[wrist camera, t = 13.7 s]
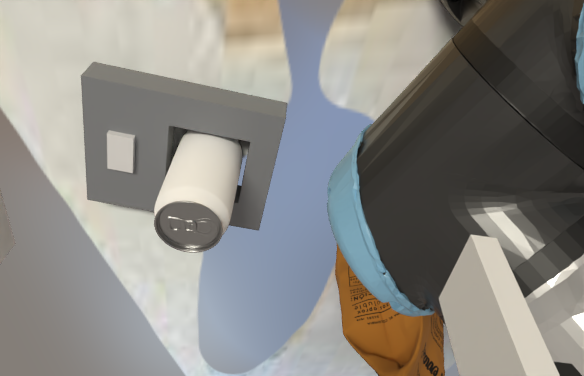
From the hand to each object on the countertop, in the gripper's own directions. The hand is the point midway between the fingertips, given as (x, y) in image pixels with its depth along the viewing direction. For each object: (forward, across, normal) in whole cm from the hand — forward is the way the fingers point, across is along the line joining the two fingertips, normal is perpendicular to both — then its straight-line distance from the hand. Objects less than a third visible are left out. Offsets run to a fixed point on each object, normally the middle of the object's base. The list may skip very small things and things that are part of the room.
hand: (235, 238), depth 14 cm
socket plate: (+31, +8, +17) cm, 36 cm away
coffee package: (+31, -15, +28) cm, 45 cm away
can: (+31, +5, +17) cm, 36 cm away
